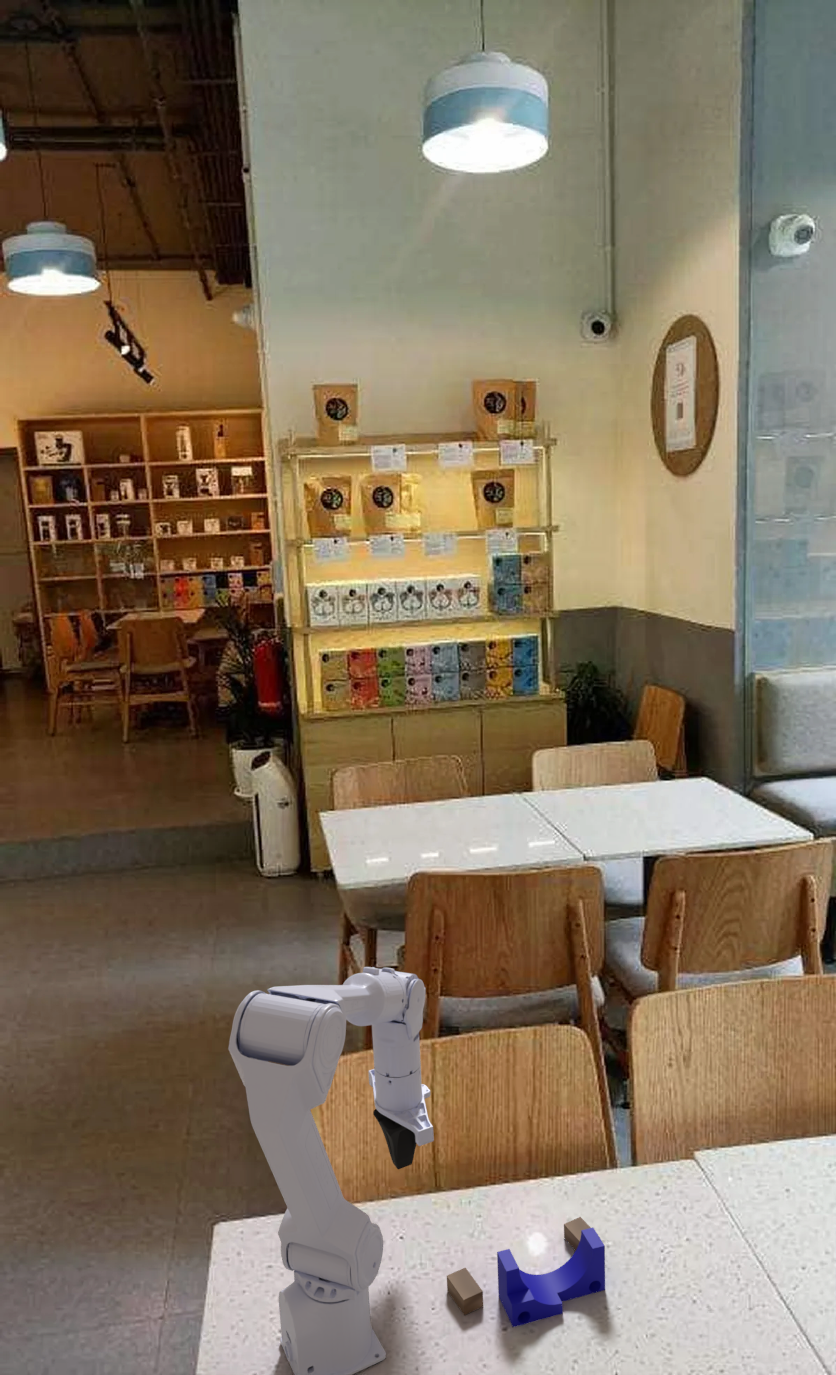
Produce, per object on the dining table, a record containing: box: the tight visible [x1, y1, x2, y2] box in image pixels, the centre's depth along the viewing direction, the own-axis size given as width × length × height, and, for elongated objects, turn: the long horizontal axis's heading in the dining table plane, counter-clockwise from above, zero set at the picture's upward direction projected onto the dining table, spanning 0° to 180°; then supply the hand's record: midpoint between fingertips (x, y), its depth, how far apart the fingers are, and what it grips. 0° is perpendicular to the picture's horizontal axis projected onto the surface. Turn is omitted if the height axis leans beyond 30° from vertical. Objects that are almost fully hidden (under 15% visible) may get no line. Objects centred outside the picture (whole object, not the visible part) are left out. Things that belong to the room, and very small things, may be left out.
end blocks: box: [446, 1216, 592, 1316], centre depth 113 cm, size 19×4×2 cm, turn 117°
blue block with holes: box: [496, 1227, 606, 1328], centre depth 108 cm, size 12×4×6 cm, turn 105°
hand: (402, 1163), depth 119 cm, fingers closed
